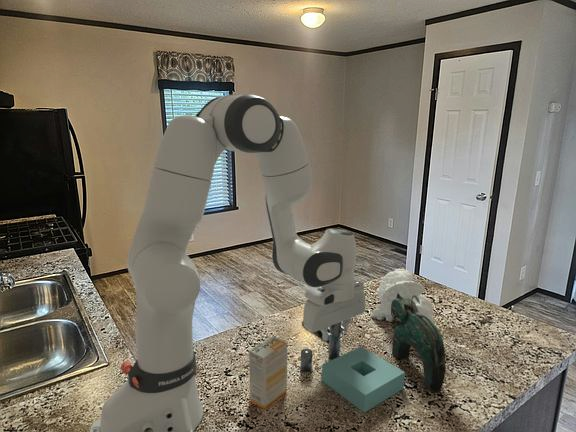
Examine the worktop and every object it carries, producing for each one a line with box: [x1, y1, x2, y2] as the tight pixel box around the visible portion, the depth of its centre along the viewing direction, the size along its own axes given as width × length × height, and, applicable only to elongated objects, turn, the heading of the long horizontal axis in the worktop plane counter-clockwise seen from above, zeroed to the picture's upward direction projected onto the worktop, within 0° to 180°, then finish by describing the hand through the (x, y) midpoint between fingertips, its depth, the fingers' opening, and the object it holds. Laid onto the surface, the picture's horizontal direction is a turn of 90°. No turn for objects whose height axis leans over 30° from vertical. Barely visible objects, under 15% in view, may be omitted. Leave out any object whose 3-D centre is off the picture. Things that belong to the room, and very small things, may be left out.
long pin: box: [328, 322, 342, 360], centre depth 106 cm, size 3×3×12 cm
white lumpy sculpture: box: [370, 267, 435, 324], centre depth 128 cm, size 19×20×20 cm
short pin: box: [300, 347, 313, 373], centre depth 101 cm, size 3×3×5 cm
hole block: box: [321, 346, 406, 413], centre depth 95 cm, size 14×14×4 cm
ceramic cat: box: [391, 294, 447, 393], centre depth 100 cm, size 20×6×20 cm, turn 15°
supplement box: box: [248, 335, 288, 410], centre depth 90 cm, size 8×5×13 cm, turn 141°
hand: (334, 336), depth 106 cm, fingers open, 5 cm apart
